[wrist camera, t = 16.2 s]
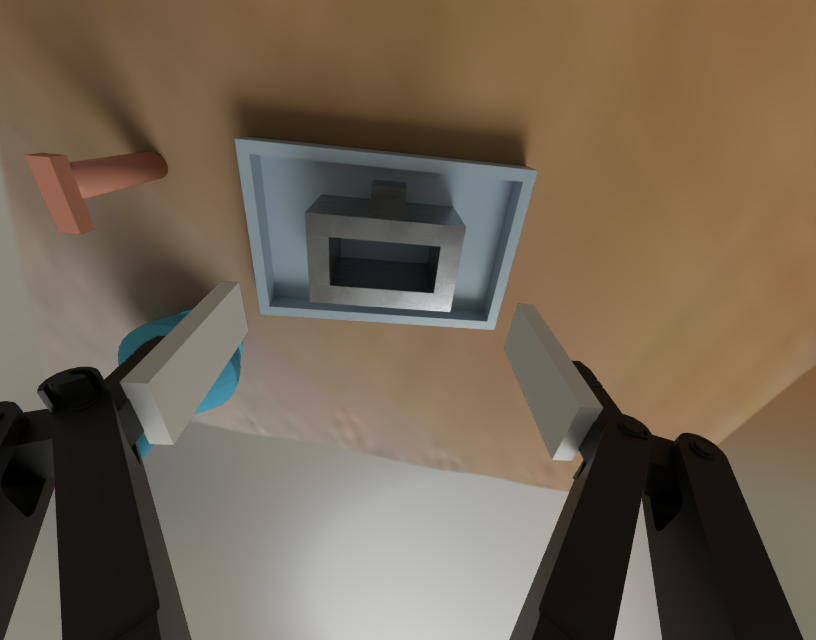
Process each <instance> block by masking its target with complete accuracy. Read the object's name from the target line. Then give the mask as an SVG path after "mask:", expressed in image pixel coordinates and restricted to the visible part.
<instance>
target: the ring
mask: <svg viewBox="0 0 816 640" xmlns="http://www.w3.org/2000/svg"><path fill="white" fill-rule="evenodd" d="M406 195H407V185H406V182H396V181H386V180H376V179H374V180H373V182H372V187H371V199H367V198H357V197H346V196H336V195H325V194H321V195H320V196H319V198H318V199H317V200H316V201H315V202H314V203H313V204H312V205H311V206H310V207H309V208H308V209H307V210H306V211H305V227H306V244H307V261H308V278H309V295H310V302H315V303H329V304H343V305H357V306H371V307H385V308H399V309H413V310H427V311H442V312H450V311H451V305H452V300H453V295H454V290H455V284H456V279H457V274H458V268H459V263H460V258H461V253H462V247H463V242H464V237H465V231H466V226H465V224H464V223H463V221H462V219H461V218H460V216H459V215H458V213H457V211H456V210H455V208H454V207H451V206H440V205H430V204H419V203H409V202H406ZM341 238H346V239H358V240H369V241H381V242H393V243H404V244H416V245H427V246H430V249H429V257H428V264H424V263H412V262H400V261H388V260H375V259H363V258H351V257H341Z"/></svg>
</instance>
